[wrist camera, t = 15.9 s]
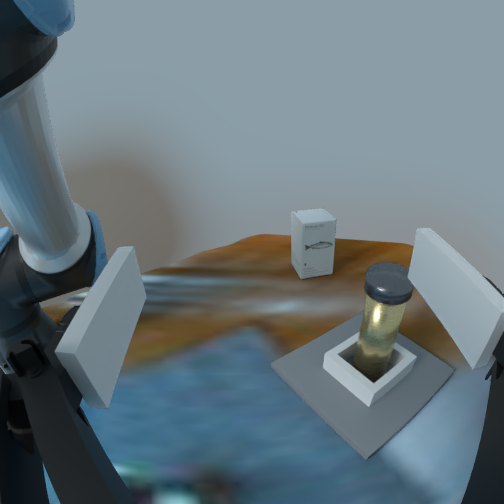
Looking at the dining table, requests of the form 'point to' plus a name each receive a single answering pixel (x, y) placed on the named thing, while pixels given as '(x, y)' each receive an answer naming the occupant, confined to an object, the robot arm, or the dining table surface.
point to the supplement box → (312, 242)
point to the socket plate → (362, 385)
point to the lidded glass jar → (381, 317)
